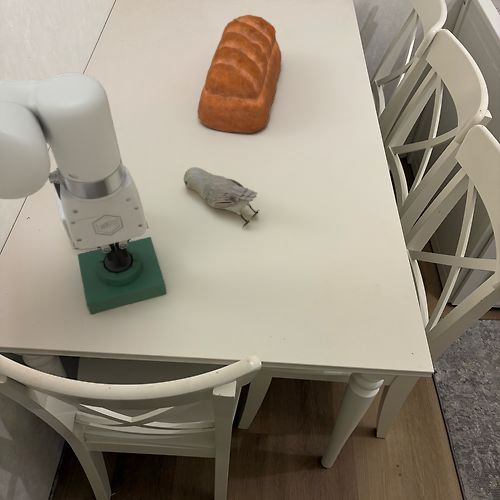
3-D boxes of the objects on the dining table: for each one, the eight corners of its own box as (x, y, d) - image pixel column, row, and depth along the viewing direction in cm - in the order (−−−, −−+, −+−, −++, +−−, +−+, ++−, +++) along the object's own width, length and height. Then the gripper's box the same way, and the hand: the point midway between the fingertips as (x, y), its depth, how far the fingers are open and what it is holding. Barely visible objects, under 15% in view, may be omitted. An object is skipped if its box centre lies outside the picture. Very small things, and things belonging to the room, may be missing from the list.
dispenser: (90, 314, 75) (83, 297, 71) (81, 264, 81) (74, 246, 77) (166, 294, 78) (163, 276, 74) (152, 247, 84) (149, 228, 80)
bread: (283, 59, 122) (289, 7, 112) (264, 138, 103) (269, 83, 92) (222, 51, 123) (222, -2, 113) (193, 128, 104) (189, 72, 93)
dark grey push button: (109, 280, 75) (107, 273, 73) (105, 261, 77) (102, 253, 76) (135, 274, 76) (133, 266, 74) (130, 255, 78) (128, 247, 77)
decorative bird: (195, 178, 94) (193, 148, 88) (263, 216, 89) (266, 187, 83) (177, 194, 92) (174, 164, 86) (246, 234, 86) (248, 205, 80)
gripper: (33, 207, 57) (72, 291, 71) (158, 179, 60) (172, 266, 75) (28, 165, 61) (66, 253, 76) (145, 142, 65) (160, 230, 79)
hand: (118, 259), depth 75 cm, fingers closed
